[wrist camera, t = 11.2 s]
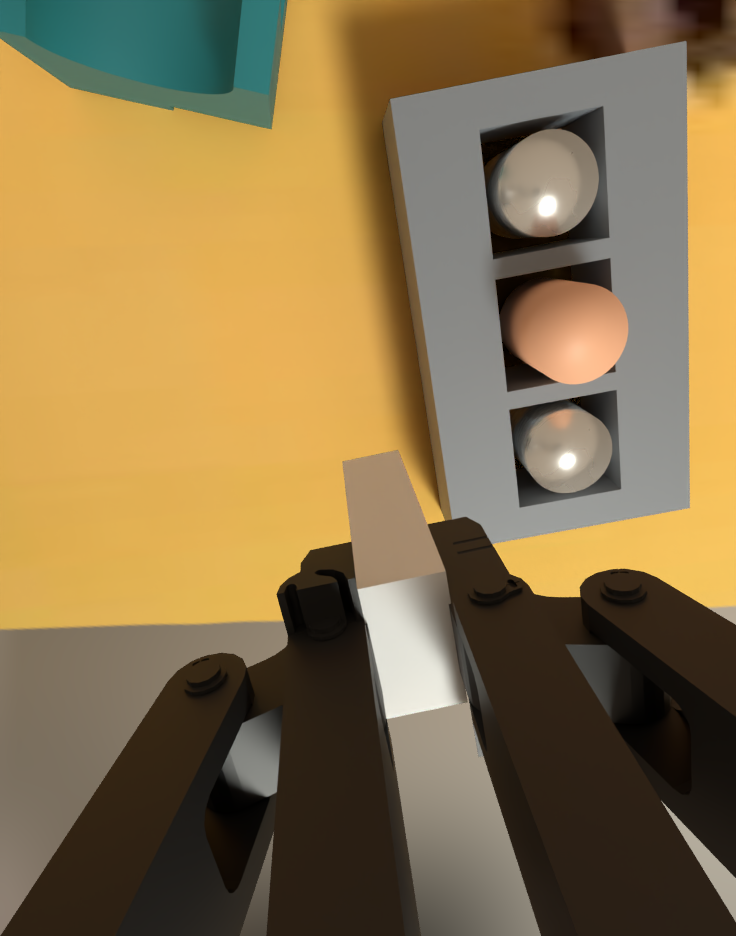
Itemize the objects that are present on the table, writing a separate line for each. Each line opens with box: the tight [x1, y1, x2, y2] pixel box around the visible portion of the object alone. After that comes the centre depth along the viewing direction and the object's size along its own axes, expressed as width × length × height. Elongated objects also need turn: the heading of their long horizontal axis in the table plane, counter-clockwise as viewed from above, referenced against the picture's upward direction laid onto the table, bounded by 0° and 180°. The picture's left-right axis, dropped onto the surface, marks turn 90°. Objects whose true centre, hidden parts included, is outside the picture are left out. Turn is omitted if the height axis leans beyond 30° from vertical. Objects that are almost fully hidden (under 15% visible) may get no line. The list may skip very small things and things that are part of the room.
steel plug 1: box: [483, 129, 599, 238], centre depth 33 cm, size 5×5×6 cm
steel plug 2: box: [509, 399, 612, 493], centre depth 38 cm, size 5×5×6 cm
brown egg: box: [499, 277, 628, 384], centre depth 33 cm, size 5×5×6 cm
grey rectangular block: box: [382, 41, 690, 544], centre depth 36 cm, size 14×24×6 cm, turn 10°
